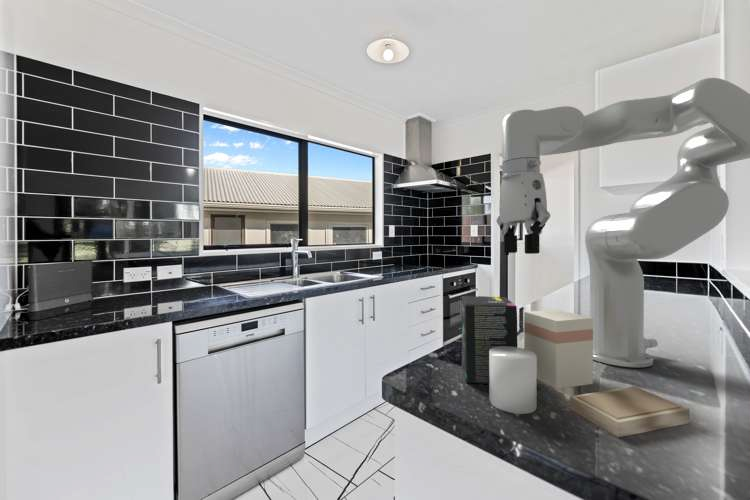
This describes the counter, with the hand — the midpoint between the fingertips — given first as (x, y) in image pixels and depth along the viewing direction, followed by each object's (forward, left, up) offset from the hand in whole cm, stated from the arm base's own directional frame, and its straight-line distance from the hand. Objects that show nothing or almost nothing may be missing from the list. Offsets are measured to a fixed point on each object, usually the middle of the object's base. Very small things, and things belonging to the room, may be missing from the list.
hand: (520, 252), depth 70 cm
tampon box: (+12, +5, -24) cm, 27 cm away
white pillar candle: (+15, +16, -24) cm, 32 cm away
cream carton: (0, +10, -24) cm, 26 cm away
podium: (+1, +24, -24) cm, 34 cm away
